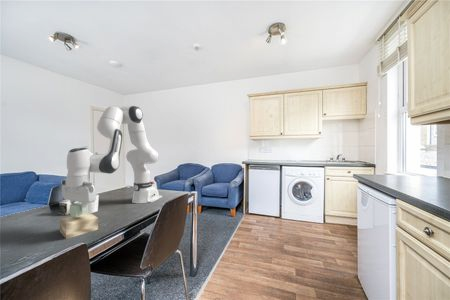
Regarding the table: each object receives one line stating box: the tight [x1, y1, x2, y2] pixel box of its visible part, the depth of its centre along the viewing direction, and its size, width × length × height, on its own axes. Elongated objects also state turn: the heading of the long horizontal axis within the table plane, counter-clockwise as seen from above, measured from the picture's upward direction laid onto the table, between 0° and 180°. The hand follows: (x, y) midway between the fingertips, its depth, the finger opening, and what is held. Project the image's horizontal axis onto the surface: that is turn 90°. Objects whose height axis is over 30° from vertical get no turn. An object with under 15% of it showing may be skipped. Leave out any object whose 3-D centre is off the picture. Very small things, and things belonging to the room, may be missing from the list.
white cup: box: [88, 193, 100, 214], centre depth 114 cm, size 8×8×10 cm
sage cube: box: [69, 202, 88, 217], centre depth 88 cm, size 5×5×5 cm
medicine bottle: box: [58, 198, 79, 216], centre depth 113 cm, size 7×7×12 cm
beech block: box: [59, 213, 99, 240], centre depth 88 cm, size 12×12×6 cm
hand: (79, 209), depth 88 cm, fingers closed on sage cube, 5 cm apart
